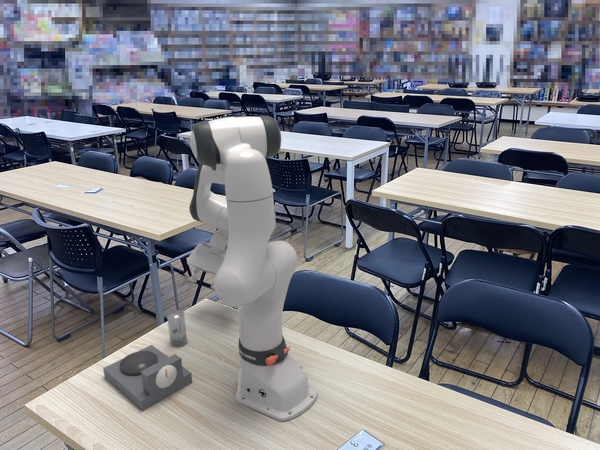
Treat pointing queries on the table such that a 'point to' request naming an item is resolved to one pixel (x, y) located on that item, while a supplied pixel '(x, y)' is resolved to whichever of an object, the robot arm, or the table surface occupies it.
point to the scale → (148, 376)
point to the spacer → (177, 328)
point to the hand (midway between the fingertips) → (202, 285)
